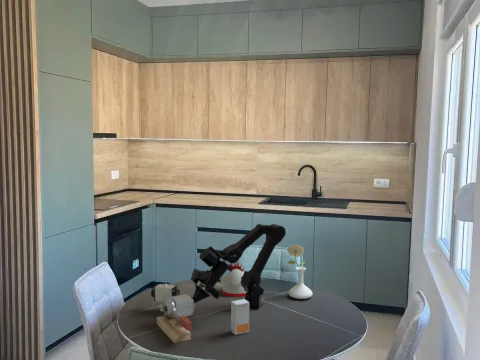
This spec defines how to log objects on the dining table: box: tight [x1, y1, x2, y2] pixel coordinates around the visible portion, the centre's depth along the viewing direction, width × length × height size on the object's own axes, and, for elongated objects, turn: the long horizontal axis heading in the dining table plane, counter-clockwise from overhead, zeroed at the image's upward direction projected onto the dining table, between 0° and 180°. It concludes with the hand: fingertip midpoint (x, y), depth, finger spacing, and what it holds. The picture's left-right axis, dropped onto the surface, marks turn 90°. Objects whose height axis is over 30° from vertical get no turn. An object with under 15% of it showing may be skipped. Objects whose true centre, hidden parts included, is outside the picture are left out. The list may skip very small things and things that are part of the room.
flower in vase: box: [286, 243, 313, 300], centre depth 211 cm, size 13×11×25 cm
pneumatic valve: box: [150, 283, 181, 313], centre depth 194 cm, size 6×12×12 cm, turn 76°
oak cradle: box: [156, 315, 192, 344], centre depth 173 cm, size 7×20×5 cm, turn 29°
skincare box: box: [230, 298, 250, 336], centre depth 172 cm, size 6×4×12 cm
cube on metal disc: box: [170, 293, 195, 317], centre depth 182 cm, size 8×7×7 cm
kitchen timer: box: [221, 261, 246, 298], centre depth 217 cm, size 14×14×15 cm
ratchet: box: [163, 298, 193, 331], centre depth 174 cm, size 10×24×8 cm, turn 29°
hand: (191, 303), depth 184 cm, fingers closed, pressing on cube on metal disc
